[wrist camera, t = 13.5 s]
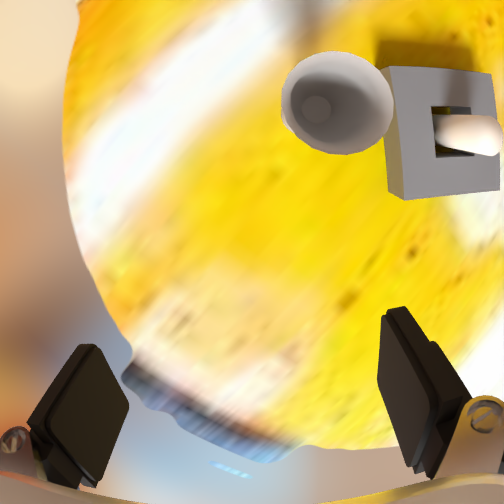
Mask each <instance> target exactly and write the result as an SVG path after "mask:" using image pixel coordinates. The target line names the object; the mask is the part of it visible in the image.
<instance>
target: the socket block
mask: <svg viewBox="0 0 504 504" xmlns="http://www.w3.org/2000/svg"><path fill="white" fill-rule="evenodd" d="M379 71H380V72H381V74H382V75H383V77H384V78H385V80H386V81H387V83H388V84H389V87H390V90H391V93H392V97H393V100H394V104H393V118H392V120H391V123H390V125H389V128H388V130H387V132H386V133H385V134H384V135H383V137H384V146H385V155H386V166H387V179H388V192H390V193H392V194H394V195H395V196H397V197H399V198H401V199H402V200H404V201H405V200H413V199H422V198H430V197H439V196H448V195H458V194H467V193H477V192H487V191H497V190H500V155H499V152H498V153H497V154H496V155H494V156H487V155H483V154H478V153H473V152H469V151H464V150H459V149H454V152H438V153H435V141H434V130H433V121H432V112H431V107H450V114H451V115H484V116H491V117H493V118H495V119H496V120H497V113H496V104H495V96H494V89H493V83H492V77H491V74H487V73H480V72H473V71H464V70H455V69H444V68H431V67H412V66H388V67H385V68H383V69H381V70H379Z"/></svg>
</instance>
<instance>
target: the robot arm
mask: <svg viewBox="0 0 504 504" xmlns="http://www.w3.org/2000/svg"><path fill="white" fill-rule="evenodd" d="M377 382H378V387H379V390H380V393H381V395H382V398H383V401H384V403H385V406H386V409H387V412H388V414H389V417H390V420H391V423H392V425H393V428H394V431H395V434H396V437H397V440H398V443H399V446H400V448H401V451H402V454H403V457H404V460H405V463H406V466H407V467H411V466H412V467H413V470H414V473H415V474H417V473H421V472H424V471H425V473H426V476H427V477H428V478H430V480H429V481H424V482H420V483H416V484H412V485H408V486H404V487H400V488H396V489H392V490H388V491H383V492H379V493H375V494H370V495H366V496H361V497H356V498H350V499H344V500H339V501H332V502H326V503H319V504H504V402H503V401H501V400H500V399H499V398H496V397H493V396H486V395H483V396H478V397H475V398H472V396H471V395H470V393H469V392H468V390H467V388H466V387H465V385H464V383H463V382H462V380H461V379H460V377H459V376H458V374H457V372H456V371H455V369H454V368H453V366H452V365H451V363H450V362H449V360H448V359H447V357H446V356H445V354H444V353H443V351H442V350H441V348H440V347H439V345H438V344H437V343H436V342H434V341H431V342H430V341H429V340H428V338H427V337H426V335H425V334H424V332H423V331H422V329H421V328H420V326H419V325H418V323H417V322H416V321H415V319H414V318H413V316H412V315H411V313H410V312H409V311H408V309H407V308H406V307H405V306H402V307H397V308H392V309H388V310H387V312H386V315H382V317H381V332H380V349H379V362H378V374H377ZM128 410H129V402H128V400H127V398H126V396H125V395H124V393H123V391H122V389H121V387H120V386H119V384H118V382H117V380H116V378H115V376H114V375H113V372H112V370H111V369H110V367H109V365H108V363H107V361H106V359H105V357H104V355H103V353H102V351H101V349H100V348H98V347H97V346H96V345H95V344H80V345H78V346H77V348H76V349H75V351H74V352H73V353H72V355H71V356H70V358H69V359H68V360H67V362H66V363H65V365H64V366H63V368H62V369H61V370H60V372H59V374H58V375H57V376H56V378H55V379H54V381H53V382H52V384H51V385H50V387H49V388H48V390H47V391H46V393H45V394H44V396H43V397H42V399H41V401H40V402H39V403H38V405H37V407H36V408H35V410H34V411H33V413H32V414H31V416H30V418H29V419H28V421H27V424H28V425H29V426H30V428H31V430H30V432H29V431H28V430H27V429H26V428H25V427H22V426H16V427H12V428H10V429H9V430H7V431H6V432H5V433H4V434H3V435H2V436H1V438H0V504H145V503H139V502H133V501H127V500H121V499H115V498H110V497H105V496H101V495H96V494H92V493H87V492H84V491H80V489H79V484H80V483H81V484H82V485H84V486H88V487H92V488H96V486H97V483H98V481H100V480H101V479H102V478H103V475H104V472H105V469H106V467H107V464H108V461H109V459H110V456H111V454H112V451H113V448H114V446H115V443H116V441H117V438H118V435H119V433H120V430H121V428H122V425H123V423H124V420H125V418H126V415H127V413H128Z"/></svg>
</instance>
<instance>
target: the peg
mask: <svg viewBox="0 0 504 504" xmlns="http://www.w3.org/2000/svg"><path fill="white" fill-rule="evenodd" d="M432 121H433V130H434V141H435V145H437V146H443V147H448V148H453V149H459V150H464V151H469V152H473V153H478V154H483V155H487V156H494V155H496V154H497V153H498V152H499V151H500V150H501V148H502V144H503V132H502V128H501V126H500V124H499V122H498V121H497V120H496V119H495V118H493V117H491V116H484V115H432Z"/></svg>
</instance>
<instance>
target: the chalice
mask: <svg viewBox="0 0 504 504" xmlns="http://www.w3.org/2000/svg"><path fill="white" fill-rule="evenodd" d="M393 104H394V100H393V97H392V93H391V90H390V87H389V84H388V83H387V81H386V80H385V78H384V77H383V75H382V74H381V72H380V71H379V70H378V69H377V68H376V67H374V66H373V65H372V64H371V63H369V62H368V61H367V60H365V59H363V58H361V57H358V56H356V55H353V54H351V53H346V52H338V51H328V52H323V53H317V54H314V55H312V56H310V57H308V58H306V59H304V60H302V61H300V62H299V63H298V64H297V65H296V66H295V68H294V69H293V70H292V71H291V72H290V73H289V74H288V76H287V79H286V81H285V83H284V86H283V88H282V104H281V107H282V109H281V117H282V120H283V123H284V124H285V126H286V127H287V129H289V130H290V131H291V132H293V133H295V134H296V136H297V137H298V138H299V139H301V140H302V141H303V142H305V143H306V144H308V145H309V146H310V147H312V148H314V149H317V150H320V151H323V152H326V153H328V154H342V155H348V154H352V153H357V152H361V151H364V150H365V149H367V148H369V147H371V146H372V145H374V144H376V143H377V142H378V141H379V140H380V139H381V138H382V136H383V135H384V134H385V133H386V132H387V130H388V128H389V125H390V123H391V120H392V118H393Z"/></svg>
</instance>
